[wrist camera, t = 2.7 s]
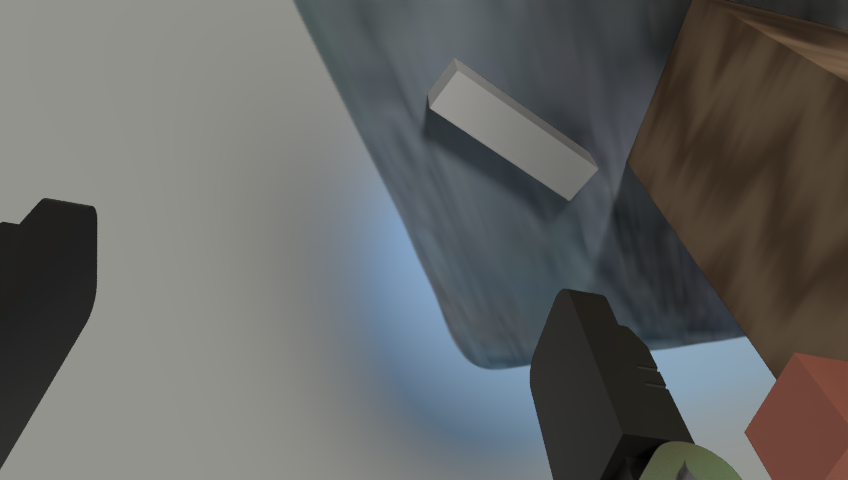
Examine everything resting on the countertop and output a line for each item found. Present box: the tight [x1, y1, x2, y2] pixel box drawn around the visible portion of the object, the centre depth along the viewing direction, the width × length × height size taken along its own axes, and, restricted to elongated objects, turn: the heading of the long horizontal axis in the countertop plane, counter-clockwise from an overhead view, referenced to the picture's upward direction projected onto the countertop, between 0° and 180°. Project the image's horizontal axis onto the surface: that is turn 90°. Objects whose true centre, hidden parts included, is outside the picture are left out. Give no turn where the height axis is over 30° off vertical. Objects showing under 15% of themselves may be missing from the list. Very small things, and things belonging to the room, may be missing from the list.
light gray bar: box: [428, 58, 599, 201], centre depth 49 cm, size 3×12×3 cm, turn 54°
